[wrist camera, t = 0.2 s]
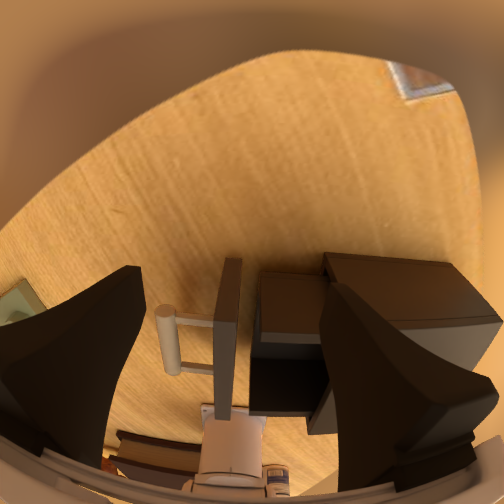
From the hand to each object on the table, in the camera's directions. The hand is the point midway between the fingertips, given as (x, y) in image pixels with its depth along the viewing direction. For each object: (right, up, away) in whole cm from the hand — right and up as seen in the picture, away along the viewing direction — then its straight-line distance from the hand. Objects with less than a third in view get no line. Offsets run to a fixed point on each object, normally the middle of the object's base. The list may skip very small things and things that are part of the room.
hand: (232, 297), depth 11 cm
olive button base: (-27, -6, +15) cm, 31 cm away
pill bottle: (+5, -38, +31) cm, 49 cm away
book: (-12, -40, +32) cm, 53 cm away
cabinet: (+12, -4, +13) cm, 18 cm away
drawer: (+2, -4, +12) cm, 13 cm away
